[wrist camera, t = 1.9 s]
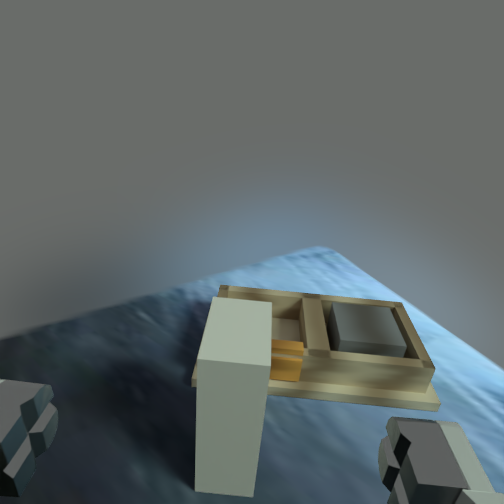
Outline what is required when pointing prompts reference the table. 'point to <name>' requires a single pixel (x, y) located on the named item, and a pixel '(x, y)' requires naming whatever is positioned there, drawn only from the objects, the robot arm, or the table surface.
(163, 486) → the table surface
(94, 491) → the table surface
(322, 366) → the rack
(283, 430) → the table surface
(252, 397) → the white carton
